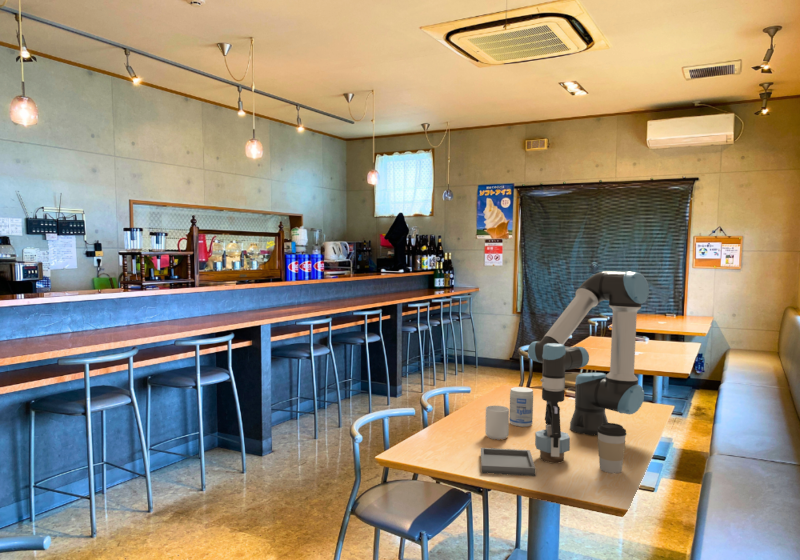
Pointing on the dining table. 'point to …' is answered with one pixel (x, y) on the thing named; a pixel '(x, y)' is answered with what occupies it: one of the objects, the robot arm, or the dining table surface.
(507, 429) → the mug
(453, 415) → the dining table surface
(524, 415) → the supplement tub
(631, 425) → the dining table surface
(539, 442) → the ring
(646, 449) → the dining table surface
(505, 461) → the tray
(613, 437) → the coffee cup
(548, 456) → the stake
